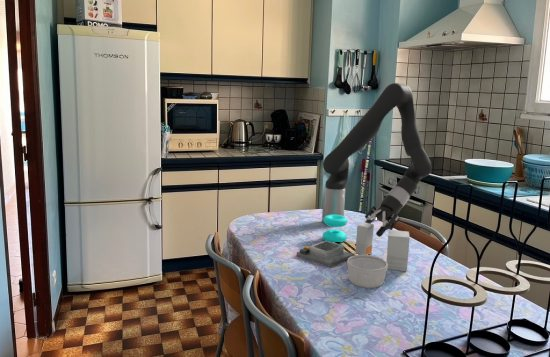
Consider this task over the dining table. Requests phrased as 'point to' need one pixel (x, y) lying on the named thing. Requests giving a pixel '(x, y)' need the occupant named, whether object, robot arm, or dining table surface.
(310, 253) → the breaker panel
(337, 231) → the donuts
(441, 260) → the dining table surface
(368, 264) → the ramekin
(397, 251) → the supplement box
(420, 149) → the robot arm
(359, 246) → the skincare box
